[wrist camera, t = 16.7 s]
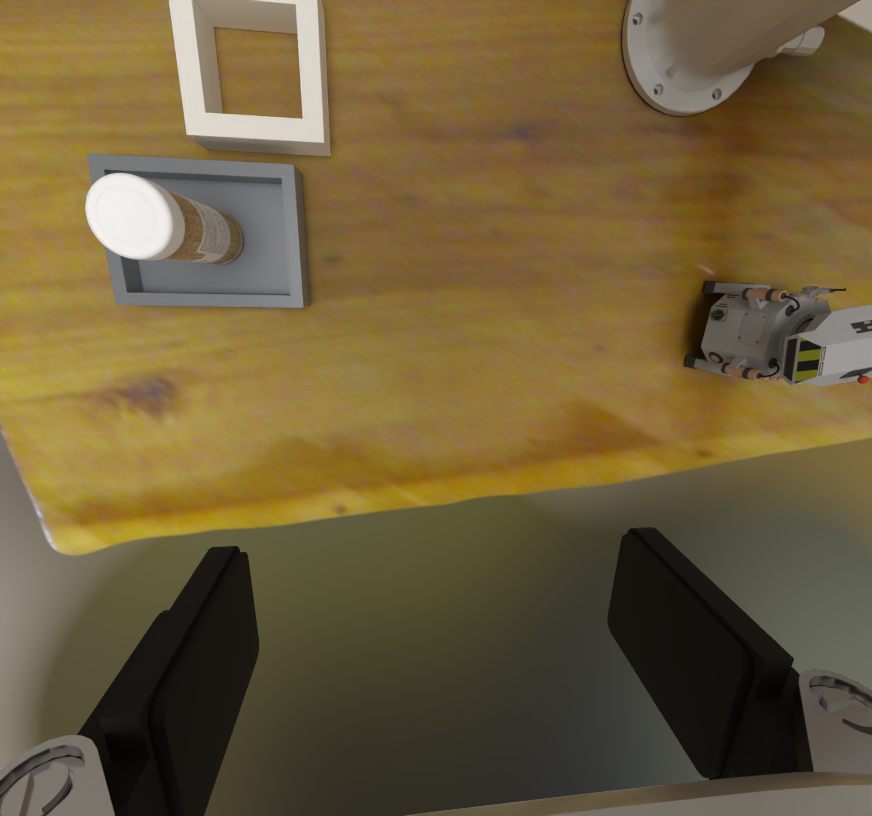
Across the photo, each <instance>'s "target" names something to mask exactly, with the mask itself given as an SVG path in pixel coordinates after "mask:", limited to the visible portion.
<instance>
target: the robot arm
mask: <svg viewBox="0 0 872 816" xmlns="http://www.w3.org/2000/svg"><path fill="white" fill-rule="evenodd" d="M858 1H860V0H629V1H628V4H627V8H626V11H625V16H624V22H623V28H622V48H623V55H624V62H625V66H626V69H627V72H628V75H629V78H630V80H631V82H632V84H633V85H634V87H635V89H636V91H637V92H638V93H639V94H640V96H641V97H642V98H643V99H644V101H646V102H647V103H648V104H650V105H651V106H652V107H653V108H655V109H657V110H659V111H661V112H663V113H665V114H670V115H675V116H690V115H694V114H698V113H701V112H704V111H706V110H708V109H710V108H712V107H714V106H716V105H718V104H719V103H721V102H722V101H724V100H725V99H727V98H728V97H729V96H730V95H732V94H733V93H734V92H735V91H736V90H737V89H738V88H739V87H740V86H741V84H742V83H743V82H744V80H745V79H746V78H747V77H748V75H749V74H750V72H751V70H752V68H753V67H754V65H755V63H756V62H758V61H760V60H761V59H763V58H772V57H775V56H776V55H777V54H779V53H785V54H786V55H794V56H804V57H808V56H810V55H812V54H813V53H814V52H815V51H816V50H817V49H818V47H819V46H820V44H821V43H822V41H823V38H824V34H825V33H824V28H823V27H821V26H817V25H819V24H820V23H822V22H824V21H825V20H827V19H829V18H831V17H832V16H834V15H836V14H838V13H839V12H841V11H842V10H844V9H846V8H848V7H849V6H851V5H853V4H855V3H856V2H858ZM607 620H608V626H609V629H610V632H611V634H612V635H613V637H614V639H615V640H616V642H617V643H618V645H619V647H620V648H621V650H622V651H623V653H624V654H625V656H626V658H627V659H628V661H629V663H630V664H631V666H632V667H633V669H634V671H635V672H636V674H637V675H638V677H639V678H640V680H641V682H642V683H643V685H644V687H645V688H646V690H647V691H648V693H649V695H650V696H651V698H652V699H653V701H654V703H655V704H656V706H657V707H658V709H659V711H660V712H661V714H662V715H663V717H664V718H665V720H666V722H667V723H668V725H669V726H670V728H671V730H672V731H673V733H674V734H675V736H676V738H677V739H678V741H679V742H680V744H681V746H682V747H683V749H684V750H685V752H686V754H687V755H688V757H689V758H690V760H691V762H692V763H693V765H694V766H695V768H696V769H697V771H698V772H699V773H700V774H701V775H702V776H703V777H705V778H709V780H706V781H697V782H689V783H680V784H671V785H662V786H653V787H644V788H635V789H626V790H617V791H608V792H599V793H591V794H582V795H574V796H566V797H557V798H548V799H540V800H532V801H523V802H514V803H506V804H498V805H489V806H481V807H472V808H464V809H456V810H447V811H439V812H432V813H423V814H415V815H407V816H872V690H870V689H868V688H867V687H865V686H863V685H862V684H860V683H859V682H857V681H854V680H852V679H850V678H848V677H846V676H843V675H841V674H838V673H835V672H832V671H828V670H822V669H810V670H805V671H804V672H803V673H802V674H801V675H799V673H798V672H797V671H796V670H795V669H793V668H792V667H791V666H792V663H793V660H794V658H793V657H791V655H789V653H787V652H786V651H785V650H784V649H783V648H782V647H781V646H780V645H779V644H778V643H777V642H776V641H775V640H773V638H772V637H770V636H769V635H768V634H767V633H766V632H765V631H764V630H763V629H762V628H761V627H760V626H759V625H758V624H756V622H754V621H753V620H752V619H751V618H750V617H749V616H748V615H747V614H746V613H745V612H744V611H743V610H742V609H741V608H740V607H738V605H736V604H735V603H734V602H733V601H732V600H731V599H730V598H729V597H728V596H727V595H726V594H725V593H724V592H722V590H720V589H719V588H718V587H717V586H716V585H715V584H714V583H713V582H712V581H711V580H710V579H709V578H708V577H707V576H706V575H705V574H703V573H702V572H701V571H700V570H699V569H698V568H697V567H696V566H695V565H694V564H693V563H692V562H691V561H690V560H689V559H688V558H687V557H685V556H684V555H683V554H682V553H681V552H680V551H679V550H678V549H677V548H676V547H675V546H674V545H673V544H672V543H671V542H670V541H668V540H667V539H666V538H665V537H664V536H663V535H662V534H661V533H660V532H659V531H658V530H657V529H655V528H652V527H647V528H631V529H629V531H628V532H627V534H625V535H623V537H622V540H621V544H620V550H619V556H618V561H617V567H616V573H615V578H614V583H613V589H612V595H611V601H610V606H609V611H608V619H607ZM258 652H259V637H258V630H257V622H256V614H255V606H254V599H253V591H252V583H251V575H250V567H249V560H248V555H247V553H246V552H240V549H239V548H238V547H237V546H230V547H229V546H227V547H212V548H210V549H209V550H208V552H207V553H206V555H205V556H204V558H203V559H202V561H201V562H200V564H199V565H198V567H197V568H196V570H195V571H194V573H193V575H192V576H191V578H190V579H189V581H188V582H187V584H186V585H185V587H184V589H183V590H182V591H181V593H180V595H179V596H178V598H177V599H176V601H175V602H174V604H173V606H172V607H171V608H170V610H165V611H163V612H162V613H160V614H159V615H158V616H157V618H156V619H155V620H154V622H153V623H152V625H151V626H150V628H149V629H148V631H147V632H146V634H145V635H144V637H143V638H142V640H141V641H140V642H139V644H138V645H137V647H136V649H135V650H134V652H133V653H132V654H131V656H130V657H129V659H128V660H127V662H126V663H125V665H124V666H123V668H122V669H121V671H120V672H119V674H118V675H117V677H116V678H115V679H114V681H113V683H112V684H111V685H110V687H109V688H108V690H107V691H106V693H105V694H104V696H103V697H102V699H101V700H100V702H99V703H98V705H97V706H96V708H95V709H94V711H93V712H92V714H91V715H90V716H89V718H88V719H87V721H86V723H85V724H84V725H83V727H82V728H81V730H80V731H79V733H78V734H77V735H74V736H73V735H66V736H63V737H59V738H56V739H52V740H49V741H46V742H44V743H42V744H40V745H38V746H36V747H34V748H31V749H30V750H28V751H27V752H25V753H23V754H22V755H20V756H19V757H17V758H16V759H14V760H13V761H11V762H10V763H9V764H7V765H6V766H5V767H4V768H3V769H2V770H1V771H0V816H204V814H205V811H206V808H207V805H208V802H209V799H210V796H211V793H212V791H213V788H214V785H215V782H216V779H217V776H218V773H219V770H220V767H221V764H222V761H223V758H224V755H225V752H226V749H227V746H228V743H229V740H230V737H231V734H232V731H233V728H234V726H235V723H236V720H237V717H238V714H239V711H240V708H241V705H242V702H243V699H244V696H245V693H246V690H247V687H248V684H249V681H250V679H251V676H252V673H253V670H254V667H255V664H256V661H257V657H258Z"/></svg>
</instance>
